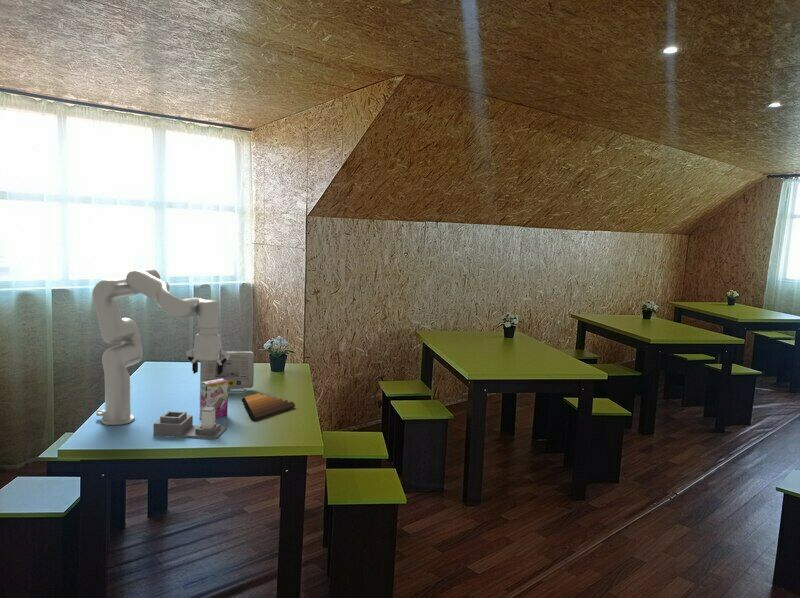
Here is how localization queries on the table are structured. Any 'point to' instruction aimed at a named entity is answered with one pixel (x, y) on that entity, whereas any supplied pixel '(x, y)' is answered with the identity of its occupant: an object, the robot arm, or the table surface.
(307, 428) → the table surface
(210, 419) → the plug
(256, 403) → the pan flute
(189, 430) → the stepped socket base
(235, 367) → the network device
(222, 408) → the candy bar box
